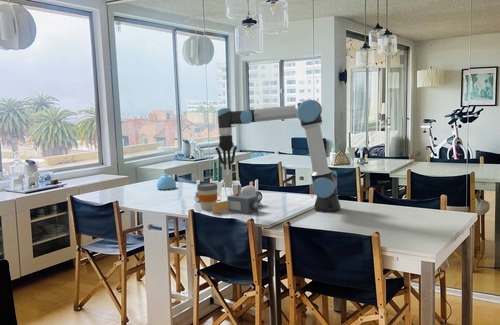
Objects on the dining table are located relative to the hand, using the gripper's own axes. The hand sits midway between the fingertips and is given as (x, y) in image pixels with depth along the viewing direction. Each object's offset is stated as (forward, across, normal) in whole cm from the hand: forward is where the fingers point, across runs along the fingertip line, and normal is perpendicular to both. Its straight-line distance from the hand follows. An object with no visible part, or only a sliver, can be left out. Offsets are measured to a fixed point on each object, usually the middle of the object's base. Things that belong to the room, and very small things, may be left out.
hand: (228, 175), depth 275 cm
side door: (+22, +6, -1) cm, 23 cm away
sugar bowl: (+22, +64, -85) cm, 108 cm away
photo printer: (+23, -9, -20) cm, 32 cm away
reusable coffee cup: (+23, +16, -13) cm, 31 cm away
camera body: (+23, -8, -4) cm, 24 cm away
